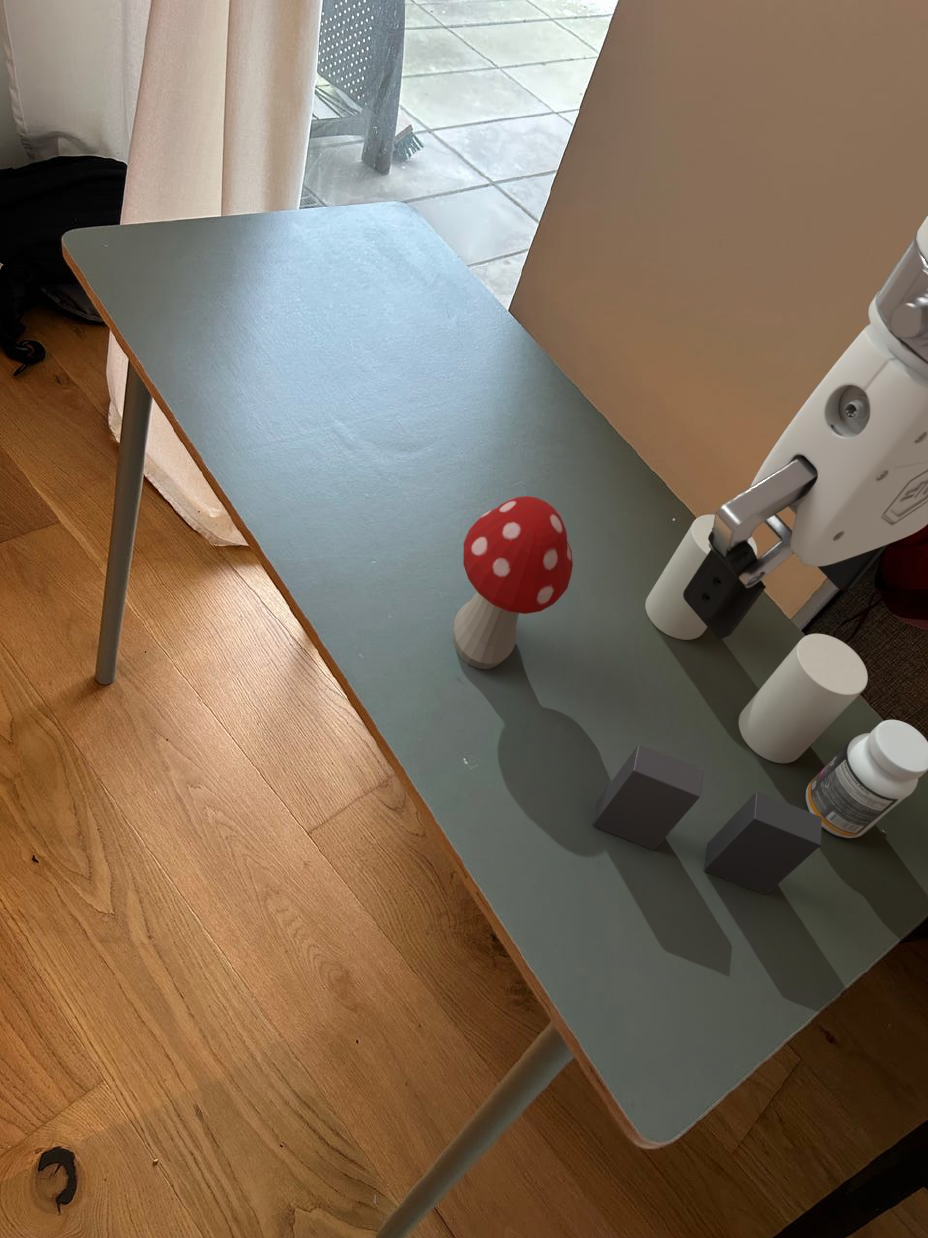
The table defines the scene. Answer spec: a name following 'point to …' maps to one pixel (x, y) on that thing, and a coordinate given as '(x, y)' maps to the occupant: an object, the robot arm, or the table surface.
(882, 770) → the pill bottle
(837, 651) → the white cylinder
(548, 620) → the table surface
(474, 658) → the decorative mushroom
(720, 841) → the dark grey block
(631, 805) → the dark grey rectangular block
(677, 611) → the white cylinder
